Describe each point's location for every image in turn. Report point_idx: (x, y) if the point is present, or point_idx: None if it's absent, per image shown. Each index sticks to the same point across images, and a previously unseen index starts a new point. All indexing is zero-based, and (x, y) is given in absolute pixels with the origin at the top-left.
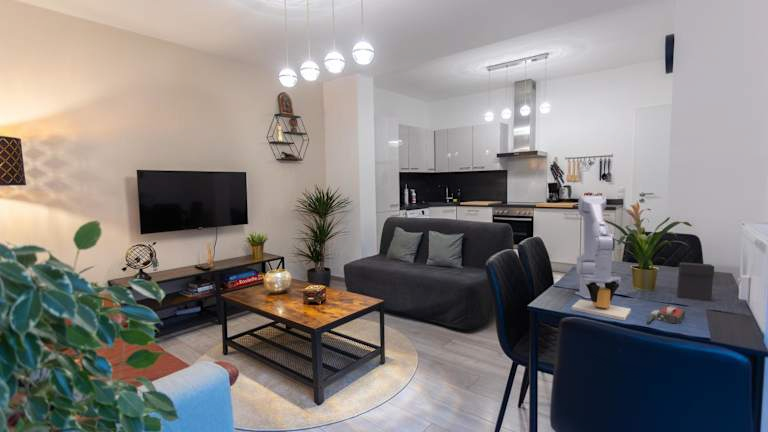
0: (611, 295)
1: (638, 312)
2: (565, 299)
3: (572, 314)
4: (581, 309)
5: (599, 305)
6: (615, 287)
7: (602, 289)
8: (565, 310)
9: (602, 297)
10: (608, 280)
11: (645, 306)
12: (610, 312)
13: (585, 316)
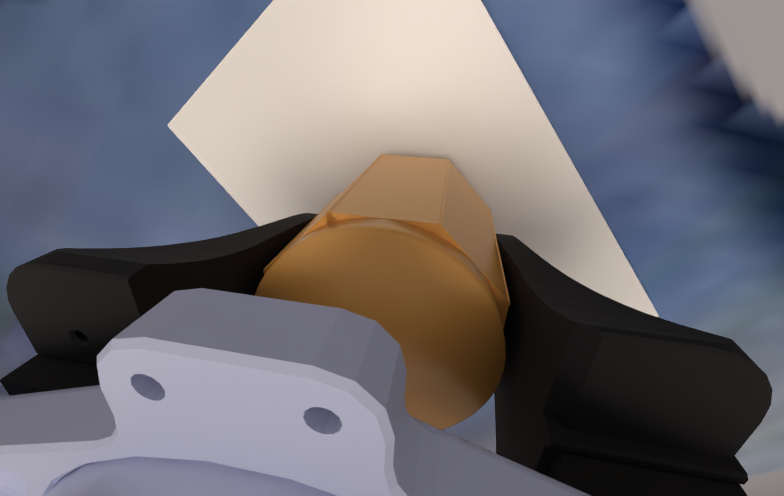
0: (283, 229)
1: (132, 94)
2: (477, 445)
3: (776, 202)
4: (618, 246)
5: (475, 194)
6: (150, 254)
7: (391, 323)
8: (717, 300)
9: (457, 211)
10: (277, 406)
11: (29, 197)
12: (428, 77)
13: (707, 118)
